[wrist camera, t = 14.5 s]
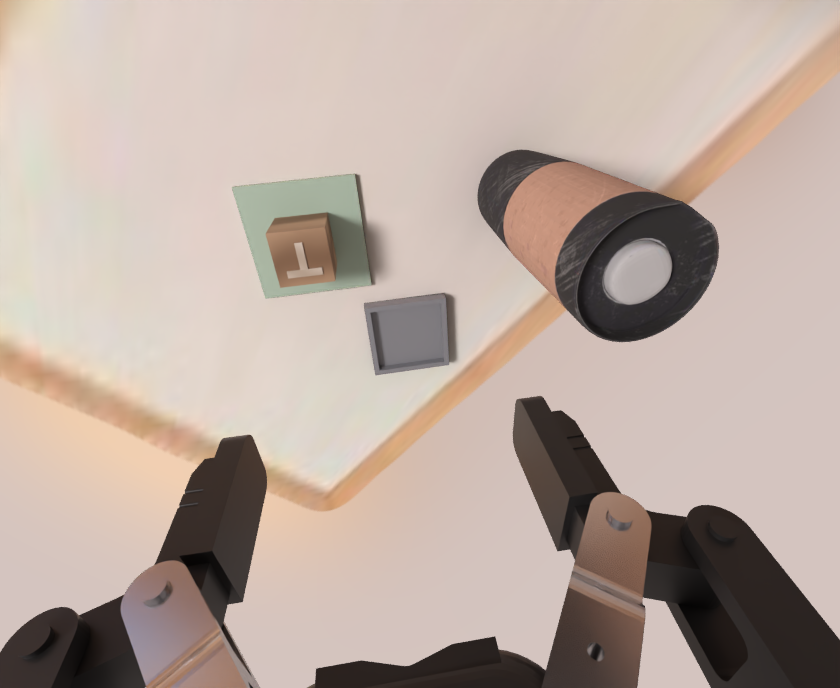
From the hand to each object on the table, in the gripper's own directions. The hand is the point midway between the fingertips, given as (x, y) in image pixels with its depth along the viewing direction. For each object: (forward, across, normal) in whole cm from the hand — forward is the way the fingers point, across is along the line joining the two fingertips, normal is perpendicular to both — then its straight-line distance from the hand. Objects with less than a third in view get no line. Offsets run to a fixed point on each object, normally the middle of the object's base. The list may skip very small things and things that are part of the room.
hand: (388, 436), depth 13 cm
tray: (+28, -2, +14) cm, 31 cm away
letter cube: (+28, +6, +3) cm, 28 cm away
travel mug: (+28, -13, 0) cm, 31 cm away
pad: (+28, +6, +3) cm, 29 cm away
